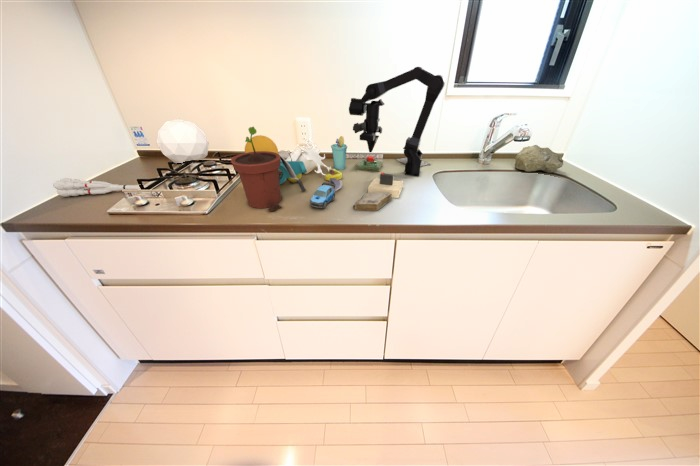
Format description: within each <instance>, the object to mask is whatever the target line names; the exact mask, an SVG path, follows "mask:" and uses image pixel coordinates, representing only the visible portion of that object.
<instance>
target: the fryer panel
mask: <svg viewBox="0 0 700 466" xmlns="http://www.w3.org/2000/svg"><path fill="white" fill-rule="evenodd" d="M403 186H404V181H403V180H394V179H393V184H392V185H384V184H380V177H379V178H378V177H374V178H373V179H372V180H371V182H370V183H369V185H368V186H367V193H369V192H378V193H386V192H390V193H391V199H392V198H394V199H399V198H400V195H401V192H402V190H403Z"/></svg>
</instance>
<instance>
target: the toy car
mask: <svg viewBox="0 0 700 466" xmlns="http://www.w3.org/2000/svg"><path fill="white" fill-rule="evenodd" d="M335 186H336V184H332V183H329V182H327V181H323V182H322V183H321V185H320V186H319V187H318V188H316V190H315V192H314V193H313V195H312V196H311V197H310V199H309V207H312V208H316V209H323V210H324V209H325V210H326V208H327V205H328V204H329V203H330V202H333V201H335V199H336V191H335V192H334V189H335Z"/></svg>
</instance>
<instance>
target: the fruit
mask: <svg viewBox="0 0 700 466" xmlns="http://www.w3.org/2000/svg"><path fill="white" fill-rule="evenodd" d="M289 155H290V154H289ZM290 157H291V156H290ZM291 161H292V159H291ZM302 175H303V173H301V174H298V175H296V178H298V179H300V180H301V179H302V177H303V176H302ZM286 181H288V182H290V183H292V184H295V183H297V179H292V178H291V177H290V178H287V179H286Z"/></svg>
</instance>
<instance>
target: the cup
mask: <svg viewBox="0 0 700 466" xmlns="http://www.w3.org/2000/svg"><path fill="white" fill-rule="evenodd" d="M344 138H345V137H344V136H342V135H339V138H336V140H335V143H334V144H333V143H332V144H331V145H330V147H331V153H332V162H333V169H336V170H338V171H339V170H340V171H341V170H344V169H345V168H346V161H347V159H346V158H347V149H348V145H347V144H345V139H344Z"/></svg>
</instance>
